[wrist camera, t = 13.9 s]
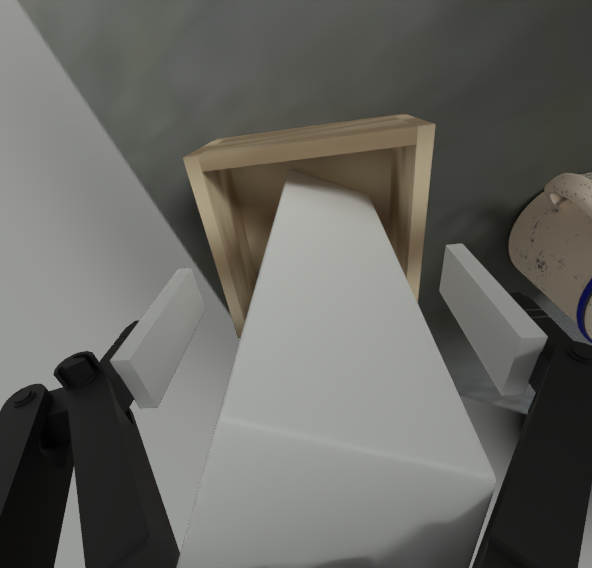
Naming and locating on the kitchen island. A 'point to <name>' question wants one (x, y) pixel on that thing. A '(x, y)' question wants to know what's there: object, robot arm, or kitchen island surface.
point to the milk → (337, 411)
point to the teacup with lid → (559, 245)
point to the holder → (320, 164)
